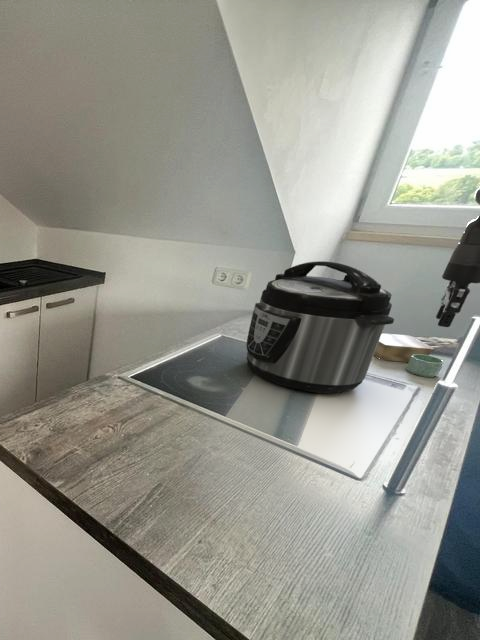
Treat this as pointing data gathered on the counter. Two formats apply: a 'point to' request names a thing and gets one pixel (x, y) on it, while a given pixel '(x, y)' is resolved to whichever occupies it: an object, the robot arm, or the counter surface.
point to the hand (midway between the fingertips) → (442, 322)
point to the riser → (400, 347)
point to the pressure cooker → (317, 328)
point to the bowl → (424, 365)
